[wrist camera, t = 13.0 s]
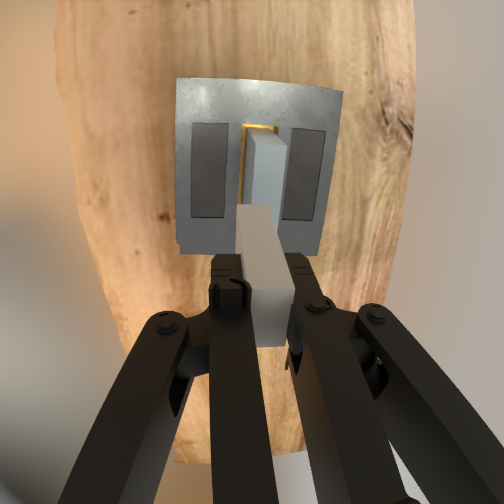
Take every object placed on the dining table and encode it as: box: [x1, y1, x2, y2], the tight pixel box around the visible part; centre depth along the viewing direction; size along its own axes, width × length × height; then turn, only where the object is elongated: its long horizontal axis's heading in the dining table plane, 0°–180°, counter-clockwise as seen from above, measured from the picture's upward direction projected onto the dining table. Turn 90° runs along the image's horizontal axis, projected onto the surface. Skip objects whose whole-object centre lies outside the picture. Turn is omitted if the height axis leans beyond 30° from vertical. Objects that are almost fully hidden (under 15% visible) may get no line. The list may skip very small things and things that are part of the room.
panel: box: [241, 127, 287, 232], centre depth 30 cm, size 9×2×10 cm, turn 176°
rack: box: [175, 78, 343, 256], centre depth 34 cm, size 20×18×4 cm
